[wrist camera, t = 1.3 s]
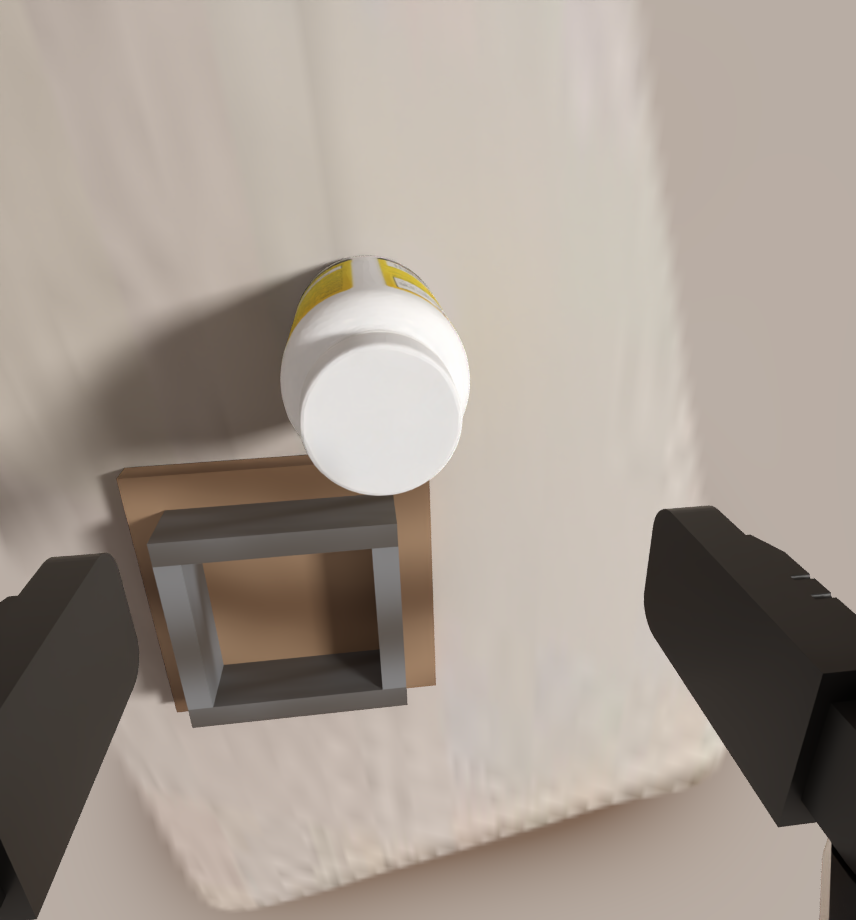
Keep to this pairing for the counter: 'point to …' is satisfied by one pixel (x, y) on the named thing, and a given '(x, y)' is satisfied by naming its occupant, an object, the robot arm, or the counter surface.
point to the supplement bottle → (374, 377)
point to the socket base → (282, 588)
